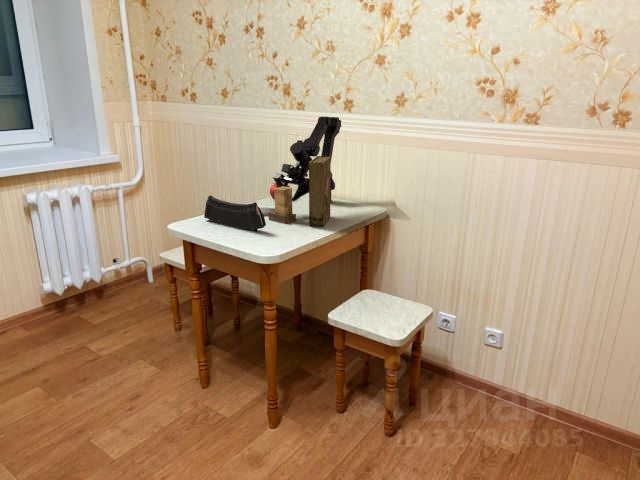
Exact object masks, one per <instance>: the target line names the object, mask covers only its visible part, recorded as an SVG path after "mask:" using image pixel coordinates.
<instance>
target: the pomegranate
mask: <svg viewBox="0 0 640 480" xmlns="http://www.w3.org/2000/svg"><path fill="white" fill-rule="evenodd" d="M276 186H277V184H276V182H273V183H272V185H271V186H270V189H269V195H270V196H271V197H272V198H271V199H273V200H274V201H275V197H274V188H276ZM286 187H289V188H291V186H290V184H288V185H287V186H286Z"/></svg>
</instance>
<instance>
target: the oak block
mask: <svg viewBox="0 0 640 480" xmlns="http://www.w3.org/2000/svg"><path fill="white" fill-rule="evenodd" d="M274 197H275V200H274V209H275V213H276V214H281V215H285V216H288V215H291V214H294V213H293V201H292V199H293V187H290V188H289V187H283V186H282V187H278V188H274Z"/></svg>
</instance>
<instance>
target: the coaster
mask: <svg viewBox="0 0 640 480" xmlns="http://www.w3.org/2000/svg"><path fill="white" fill-rule="evenodd" d="M259 208H260V210H261V212H262V213H263V215H264V217H269V213H270V212H272V213H274V212H275V207H274V208H273V207H259Z"/></svg>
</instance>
